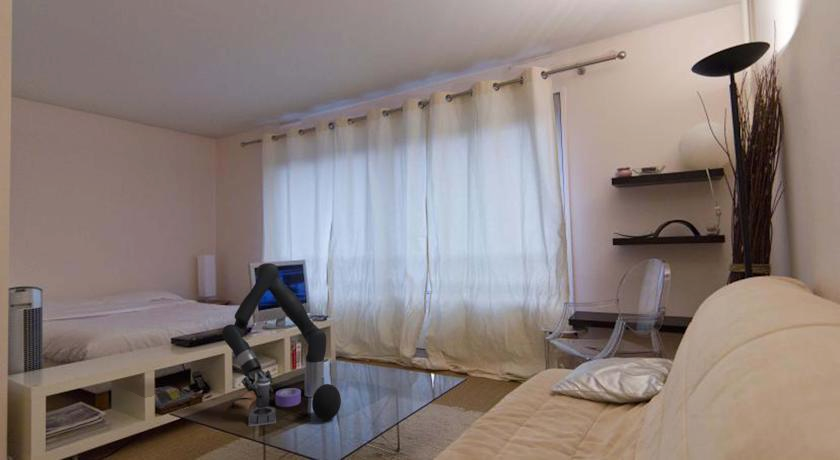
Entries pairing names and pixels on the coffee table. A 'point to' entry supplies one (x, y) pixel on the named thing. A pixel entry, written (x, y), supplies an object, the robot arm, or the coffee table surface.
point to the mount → (262, 416)
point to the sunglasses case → (244, 401)
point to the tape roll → (288, 397)
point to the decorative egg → (326, 402)
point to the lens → (263, 392)
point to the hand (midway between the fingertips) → (265, 395)
